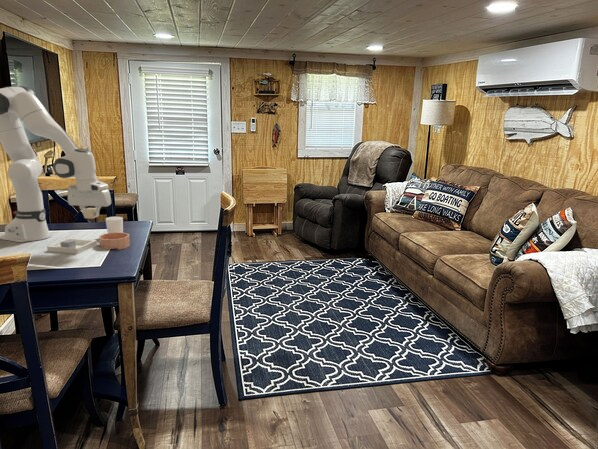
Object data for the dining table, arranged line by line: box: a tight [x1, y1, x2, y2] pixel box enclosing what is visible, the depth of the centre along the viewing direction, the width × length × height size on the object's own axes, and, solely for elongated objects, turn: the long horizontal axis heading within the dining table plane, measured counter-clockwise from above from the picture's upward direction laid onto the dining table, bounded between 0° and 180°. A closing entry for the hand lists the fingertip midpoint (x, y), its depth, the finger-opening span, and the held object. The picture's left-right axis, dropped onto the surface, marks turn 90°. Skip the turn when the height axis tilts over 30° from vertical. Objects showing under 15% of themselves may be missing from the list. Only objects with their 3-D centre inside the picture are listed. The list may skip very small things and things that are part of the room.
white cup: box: [105, 216, 124, 233], centre depth 225 cm, size 8×8×10 cm
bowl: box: [98, 232, 131, 251], centre depth 212 cm, size 13×13×5 cm
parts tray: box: [46, 237, 98, 255], centre depth 205 cm, size 15×14×3 cm
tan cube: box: [82, 207, 99, 220], centre depth 207 cm, size 4×4×4 cm
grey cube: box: [59, 239, 76, 248], centre depth 202 cm, size 4×4×4 cm
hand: (91, 215), depth 207 cm, fingers closed on tan cube, 4 cm apart
